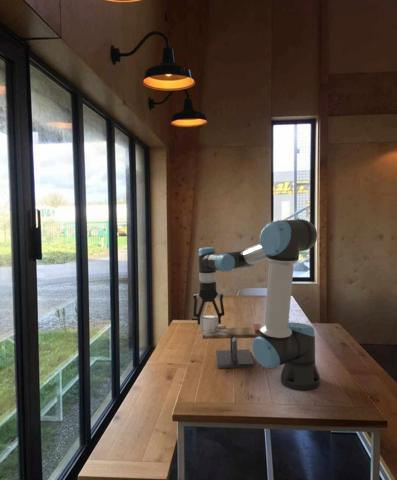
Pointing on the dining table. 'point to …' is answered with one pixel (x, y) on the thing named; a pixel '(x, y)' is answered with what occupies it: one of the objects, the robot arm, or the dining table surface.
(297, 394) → the dining table surface
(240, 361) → the stand
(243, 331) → the beam
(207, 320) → the shot glass
